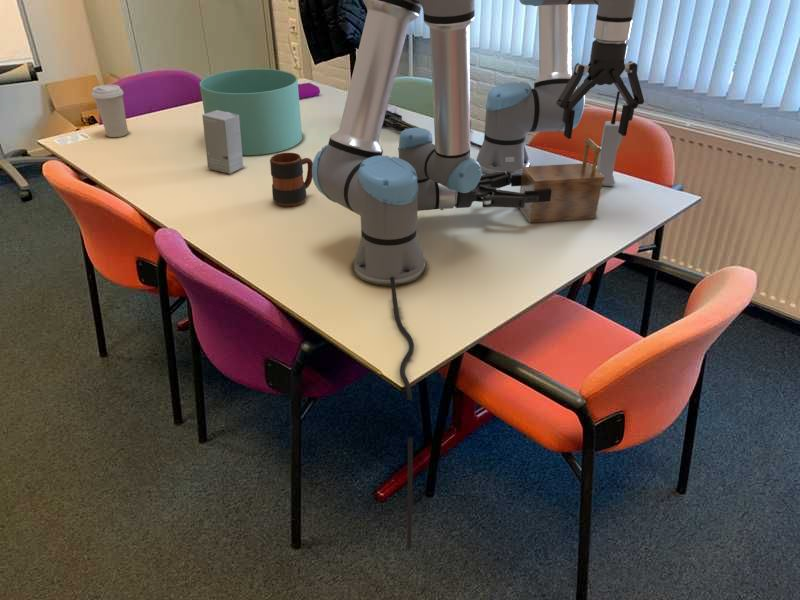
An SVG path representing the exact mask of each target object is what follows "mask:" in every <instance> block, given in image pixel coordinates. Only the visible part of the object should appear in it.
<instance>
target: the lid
mask: <svg viewBox="0 0 800 600" xmlns="http://www.w3.org/2000/svg"><path fill="white" fill-rule="evenodd" d="M584 144H585V146H584V153H583V159H582V163H567V164H565V163H564V164H550V165H549V164H548V165H533V166H530V165H529V167H523V172H524V173H525V174H526V175H527V176H528V178H529V179H530V180H531V181H532V183H533V184H534V185H541V184H558V183H574V182H591V181H604V179H605V177H604V176H603V175H602V174H601V173H600V172H599V171H598V170H597V163H598V158H599V153H600V151H601V148H600V146H599V145H598V144H597V143H595V142H594V141H593V140H592V139H591V138H590V137H587V138H585V139H584ZM590 149H591V150H592V151H593V152H594V155H593V161H592V164H591V163H590V162H587V161H588V156H589V151H590Z"/></svg>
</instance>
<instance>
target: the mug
mask: <svg viewBox="0 0 800 600" xmlns="http://www.w3.org/2000/svg"><path fill="white" fill-rule="evenodd" d="M306 164H307V172H306V178H305V181H304V175H303V174H304V168H303V165H306ZM269 165H270V175H271V179H272V184H271V192H272V194H271V195H272V200H273V201H274V202H275V204H277V205H278V206H281V207H294V206H299V205H301V204H303V203H304V202H305V200H306V199H307V189H308V188H309V187H310V185H311V183H312V181H313V177H312V165H313V160H312V159H311V158H309V157H304V158H302V157H301V155H300V154H298V153H295V152H281V153H280V152H279V153H276V154H274V155H272V156H271V157H270V160H269Z"/></svg>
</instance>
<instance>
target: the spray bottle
mask: <svg viewBox="0 0 800 600" xmlns="http://www.w3.org/2000/svg"><path fill="white" fill-rule="evenodd" d="M298 92H299V100H301V99H302V100H303V99H306V98H311V97H316V96H319V95H320V93H321V89H320V87H319V86H317V85H316V84H313V83H311V82H304V83H298Z"/></svg>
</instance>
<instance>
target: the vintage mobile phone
mask: <svg viewBox="0 0 800 600" xmlns="http://www.w3.org/2000/svg"><path fill="white" fill-rule="evenodd" d="M616 92H617V93H616V98H615V104H614V109H613V112H612V118H611V120H606V121H604V124H603V128H602V129H603V130H602V135H601V141H600V146H599V147H600V148H601V151H600V153H599V154H598V159H597V165H596V169H597V170H598V171H599V172H600V173H601V174H602V175H603V176H604V177H605V179H604V181H602V185H601V186H606V187H614V186H615V183H616V181H615V177H614V168H615V165H616V160H617V153H618V148H619V147H620V145H621V144H622V140H623V138H624V136H622V135H621V134H620V133H618V130H619V125H620V121H616V118H617V112H618V104H619V100H620V95H621V93H620V92H619V90H618V91H616Z"/></svg>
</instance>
